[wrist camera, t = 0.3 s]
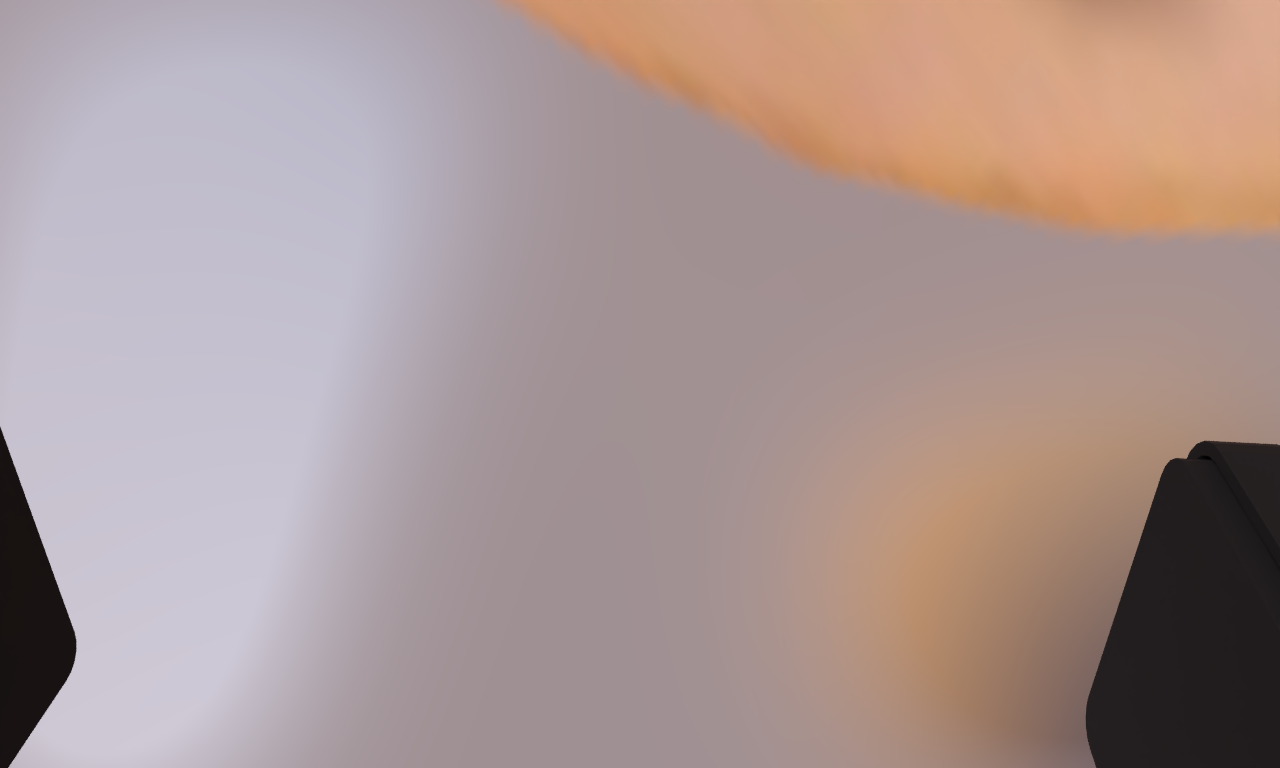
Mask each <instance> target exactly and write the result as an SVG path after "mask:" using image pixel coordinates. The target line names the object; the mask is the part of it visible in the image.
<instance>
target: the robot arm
mask: <svg viewBox="0 0 1280 768" xmlns="http://www.w3.org/2000/svg"><path fill="white" fill-rule="evenodd" d="M75 655H76V637H75V632H74V630H73V627H72V624H71V621H70V618H69V615H68V613H67V610H66V607H65V605H64V602H63V599H62V596H61V594H60V591H59V588H58V585H57V582H56V580H55V577H54V574H53V571H52V569H51V566H50V563H49V560H48V557H47V555H46V552H45V549H44V546H43V544H42V541H41V538H40V535H39V533H38V530H37V527H36V524H35V522H34V519H33V516H32V513H31V510H30V508H29V505H28V503H27V500H26V497H25V494H24V491H23V488H22V486H21V483H20V480H19V477H18V475H17V472H16V469H15V466H14V464H13V461H12V458H11V455H10V453H9V450H8V447H7V444H6V441H5V439H4V436H3V433H2V430H1V428H0V768H8V767H9V765H10V764H11V763H12V761H13V760H14V758H15V757H16V755H17V753H18V752H19V750H20V749H21V748H22V746H23V745H24V743H25V741H26V740H27V739H28V737H29V736H30V734H31V733H32V731H33V730H34V728H35V727H36V725H37V723H38V722H39V721H40V719H41V718H42V716H43V715H44V713H45V712H46V710H47V709H48V707H49V706H50V704H51V703H52V701H53V700H54V698H55V697H56V695H57V694H58V692H59V691H60V689H61V688H62V686H63V685H64V683H65V682H66V680H67V678H68V676H69V675H70V673H71V670H72V667H73V664H74V661H75ZM1086 729H1087V738H1088V742H1089V746H1090V750H1091V753H1092V756H1093V759H1094V762H1095V765H1096V768H1280V445H1277V444H1258V443H1257V444H1256V443H1236V442H1218V441H1203V442H1200V443H1198V444H1196V445H1195V446H1194V448H1193V449H1192V450H1191V451H1190V453H1189V455H1188V457H1187V459H1180V458H1175V459H1172V460H1170V461H1169V462H1168V464H1167V465H1166V466H1165V468H1164V471H1163V473H1162V475H1161V478H1160V481H1159V484H1158V487H1157V490H1156V493H1155V496H1154V499H1153V502H1152V505H1151V508H1150V512H1149V514H1148V517H1147V520H1146V523H1145V526H1144V530H1143V533H1142V536H1141V539H1140V542H1139V545H1138V548H1137V551H1136V554H1135V557H1134V560H1133V563H1132V566H1131V569H1130V572H1129V575H1128V578H1127V581H1126V584H1125V587H1124V590H1123V593H1122V597H1121V600H1120V603H1119V606H1118V609H1117V612H1116V615H1115V618H1114V621H1113V624H1112V627H1111V630H1110V633H1109V636H1108V639H1107V642H1106V645H1105V648H1104V651H1103V654H1102V658H1101V660H1100V663H1099V666H1098V670H1097V673H1096V676H1095V679H1094V682H1093V685H1092V688H1091V691H1090V694H1089V697H1088V702H1087V708H1086Z"/></svg>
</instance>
